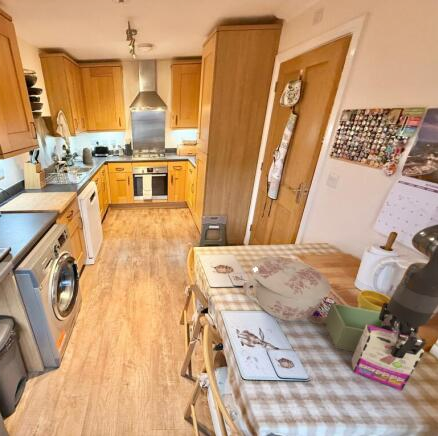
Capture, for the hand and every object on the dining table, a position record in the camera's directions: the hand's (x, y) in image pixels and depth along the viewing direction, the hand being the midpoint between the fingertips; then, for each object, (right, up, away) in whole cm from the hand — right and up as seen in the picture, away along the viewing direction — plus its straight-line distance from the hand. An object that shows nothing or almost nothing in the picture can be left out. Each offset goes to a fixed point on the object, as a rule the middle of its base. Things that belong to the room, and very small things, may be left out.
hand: (389, 346), depth 67 cm
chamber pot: (-13, -1, +32) cm, 35 cm away
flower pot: (+18, -3, +25) cm, 31 cm away
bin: (+5, -7, +16) cm, 18 cm away
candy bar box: (+1, -12, +5) cm, 13 cm away
